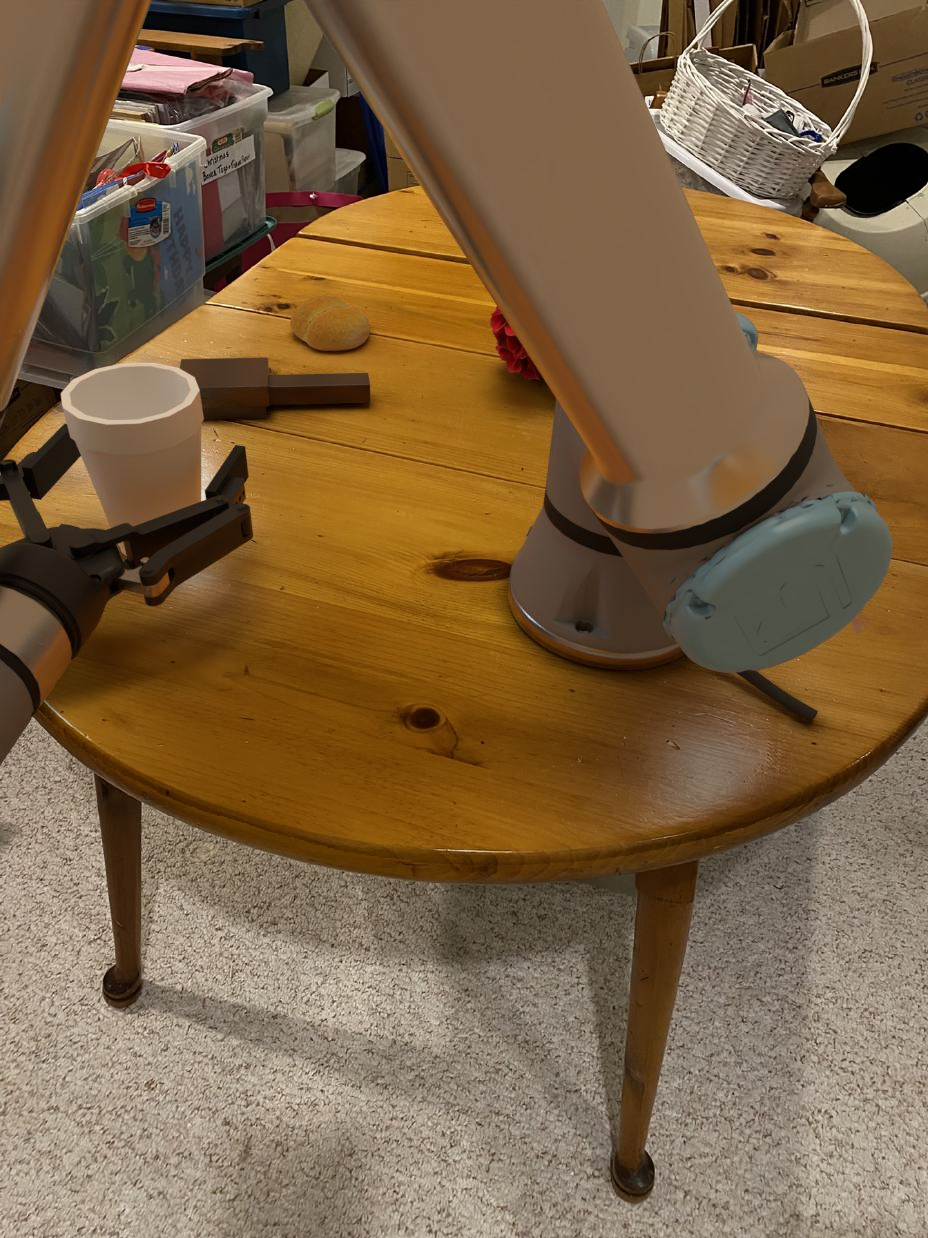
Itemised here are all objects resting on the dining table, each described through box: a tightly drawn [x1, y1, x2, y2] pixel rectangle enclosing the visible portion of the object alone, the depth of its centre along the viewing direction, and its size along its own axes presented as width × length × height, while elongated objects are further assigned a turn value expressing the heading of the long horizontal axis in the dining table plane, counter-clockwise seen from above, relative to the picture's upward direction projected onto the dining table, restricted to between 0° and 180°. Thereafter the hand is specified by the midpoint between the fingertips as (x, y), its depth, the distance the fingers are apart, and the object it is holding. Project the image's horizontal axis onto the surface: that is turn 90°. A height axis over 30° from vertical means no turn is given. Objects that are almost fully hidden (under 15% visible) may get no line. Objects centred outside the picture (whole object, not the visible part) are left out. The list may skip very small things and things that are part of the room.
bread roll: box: [289, 295, 371, 352], centre depth 103 cm, size 8×9×4 cm
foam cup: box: [60, 362, 205, 557], centre depth 70 cm, size 10×9×13 cm
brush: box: [179, 356, 371, 421], centre depth 91 cm, size 18×6×4 cm, turn 99°
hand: (157, 449), depth 71 cm, fingers open, 13 cm apart
